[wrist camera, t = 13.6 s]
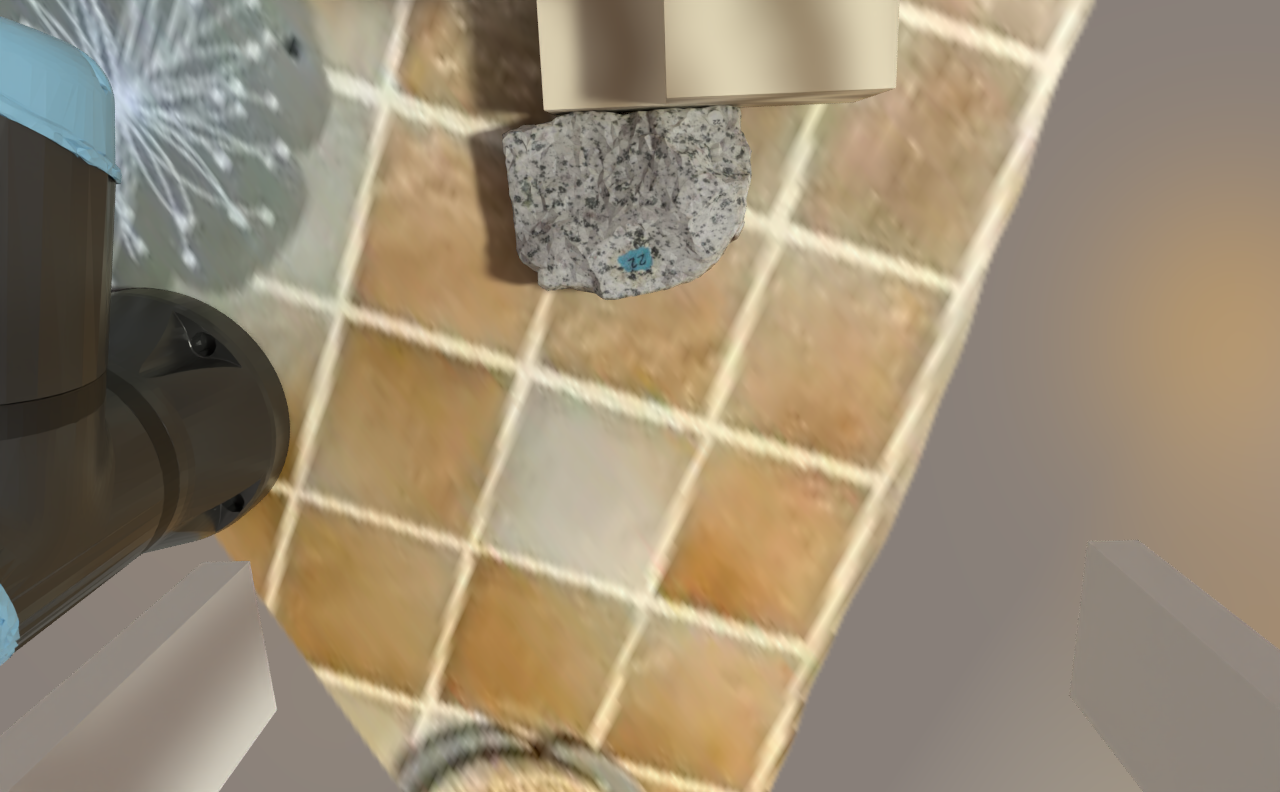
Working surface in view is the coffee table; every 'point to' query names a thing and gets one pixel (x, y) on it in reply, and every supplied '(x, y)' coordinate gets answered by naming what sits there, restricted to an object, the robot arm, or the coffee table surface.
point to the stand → (714, 53)
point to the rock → (627, 197)
